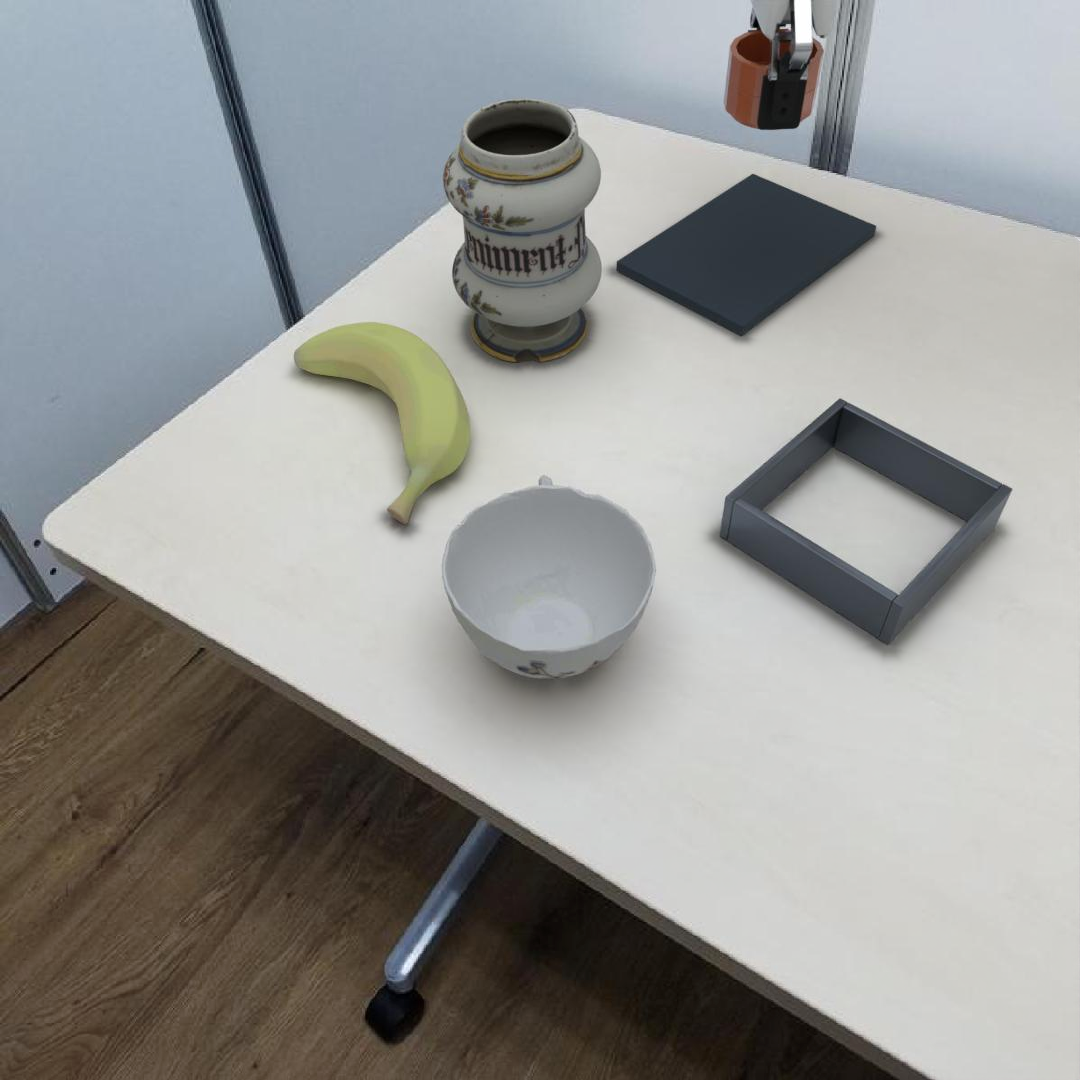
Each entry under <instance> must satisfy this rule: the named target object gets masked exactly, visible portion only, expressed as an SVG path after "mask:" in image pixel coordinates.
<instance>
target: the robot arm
mask: <svg viewBox="0 0 1080 1080" xmlns="http://www.w3.org/2000/svg"><path fill="white" fill-rule="evenodd" d="M750 3H751V5H752V7H751V12H750V17H749V18H750V19H749V27H750V29H747V32H751V31H755V30H760V29H761V30H762V32H763V34H764V35H765V36H766V37H767V38H769V39H770V41H769V63H768V75H763V81H762V88H761V96H760V103H759V110H758V118H757V125H758V128H759V129H758V130H760V131H778V130H777V129H780V130H794V129H798V127H799V126H800V124H801V122H800V118H801V113H802V107H803V101H804V95H805V89H806V83H807V77H808V71H809V64H810V60H809V58H810V55H811V52H812V48H813V38H814V37H813V36H814V35H813V31H814V33H815V35H816V36H819V38H820V39H826V38H827V37H828V36H829V35H830V34H831V33H832V31H833V27H834V20H835V14H836V5H837V0H750ZM787 25H790V28H786V27H787ZM781 28H784V29H785V30H791V32H778V29H781ZM780 43H790V46H789V52H784V53H783V54H782V56H781V58H780V60H779V47H780Z"/></svg>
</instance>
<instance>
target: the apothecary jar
mask: <svg viewBox="0 0 1080 1080" xmlns="http://www.w3.org/2000/svg"><path fill="white" fill-rule="evenodd" d="M601 178H602V170H601V164H600V161H599V159H598V156H597V154H596V152H595V151H594V150H593V148H592V147H591V146H590V145H589V144H588V143H587V141H585V140H584V139H583V138H582V137H581V136H579V128H578V124H577V121H576V119H575V116H574V114H572V113H571V111H570V110H569V109H567V108H565V107H564V106H562V105H561V104H559V103H556V102H553V101H549V100H544V99H538V98H529V97H528V98H527V97H525V98H524V97H523V98H510V99H504V100H499V101H496V102H492V103H490V104H487V105H484V106H483V107H480V108H479V109H476V110H475V111H474V112H473V113H472V114H470V115H469V116H468V117H467V119H466V120H465V121H464V123H463V125H462V127H461V132H460V142H459V143H458V145H457V146H455V148H454V149H453V151H452V152H451V154H450V155H449V157H448V158H447V161H446V163H445V165H444V168H443V175H442V184H443V190H444V192H445V196H446V198H447V200H448V202H449V203H450V204H451V206H452V208H454V209H455V211H456V212H458V214H460V215H461V216H462V222H463V233H464V235H463V236H464V242H463V243H462V245H460V247H459V248H458V250H457V252H456V254H455V257H454V259H453V263H452V268H451V269H452V271H451V277H452V282H453V286H454V289H455V291H456V293H457V295H458V296H459V298H460V299H461V301H462V302H463V303H464V304H465V305H466V306H467V307H468V308H469V309H470V310H472V311H473V312H475V313H474V314H473V316H472V318H471V322H470V332H471V336H472V337H473V340H474V342H475V343H476V344H477V346H478V347H479V348H480V349H481V350H483V352H485V353H486V354H488V355H490V356H491V357H493V358H496V359H499V360H503V361H505V362H510V363H519V362H523V361H528V360H533V361H536V362H539V363H544V362H549V361H552V360H556V359H558V358H561V357H564V356H566V355H567V354H569V353H570V352H572V351H573V350H575V349H576V348H577V346H579V345H580V344H581V342H582V341H583V340H584V338H585V337H586V334H587V328H588V322H587V318H586V315H585V313H584V311H583V309H582V308H583V307H584V306H585V305H586V304H587V303H588V302H589V301H590V299H592V297H593V296H594V295H595V293H596V291H597V290H598V287H599V285H600V282H601V278H602V274H603V273H602V271H603V267H602V261H601V260H602V259H601V256H600V253H599V251H598V249H597V247H596V246H595V244H594V243H593V242H592V240H591V239H590V238H589V237H588V236H587V234H586V215H585V214H586V212H585V211H586V208H588V206H589V205H590V204H591V202H593V200H594V198H595V196H596V195H597V193H598V191H599V188H600V184H601V180H602V179H601Z"/></svg>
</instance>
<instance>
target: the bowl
mask: <svg viewBox="0 0 1080 1080" xmlns="http://www.w3.org/2000/svg"><path fill="white" fill-rule="evenodd" d="M785 29H786V28H780V29H778V32H791V29H789V30H785ZM754 30H755V31H751V32H748V31H747V32H744V33H743V34H740V35H738V36H736V37H735V38H734V39H733V41H732V42H731V44H730V45H729V50H728V60H727V69H726V77H725V86H724V95H723V106H724V109H725V112H727V113H728V114H729V115H730V116H731V117H732V119H733V120H734V121H736V122H737V123H738V124H741V125H743V126H745V127H748V128H751V129H756V130H760V129H759V128H758V125H757V118H758V110H759V103H760V96H761V88H762V81H763V75H768V63H769V41H770V39H769V38H767V37H766V36H765V35H764V34H763V32H762V30H761V29H760V30H756V29H754ZM789 46H790V43H780V47H779V60H780V58H781V56H782V54H783V53H784V52H789ZM824 54H825V50H824V47H823V45H822V43H821V42H820V41H819V40H817V39H816V38H814V37H813V48H812V52H811V55H810V58H809V60H810V64H809V71H808V77H807V83H806V89H805V95H804V101H803V107H802V113H801V118H800V123H802V122H803V121H804V120H806V119H807V118H809V117H810V116H811V115H812V113H813V111H814V108H815V103H816V98H817V94H818V93H817V92H818V86H819V81H820V76H821V71H822V64H823V59H824ZM779 130H781V129H777V130H776V131H779Z"/></svg>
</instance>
